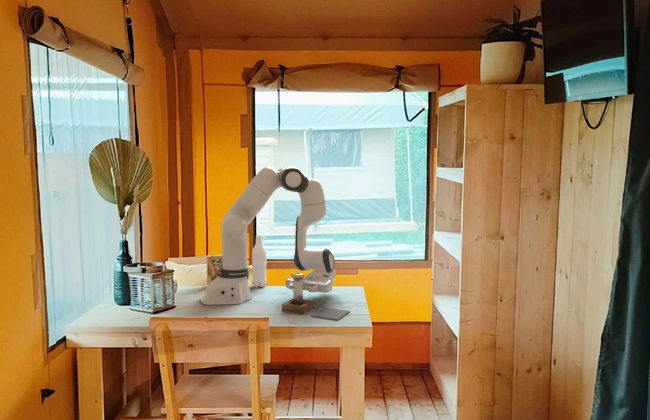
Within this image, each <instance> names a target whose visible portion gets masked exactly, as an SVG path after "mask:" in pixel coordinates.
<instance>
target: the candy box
mask: <svg viewBox="0 0 650 420" xmlns="http://www.w3.org/2000/svg"><path fill="white" fill-rule="evenodd" d="M222 267H223V262H222V254H212V255H211V254H209V255H206V286H207V285H208V284H209V283H211V282H212V281H213V280H215V279H216V278H217V277H218V273H217V272H216V269H217V268H220V269H221V268H222Z"/></svg>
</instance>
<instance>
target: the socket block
mask: <svg viewBox="0 0 650 420" xmlns="http://www.w3.org/2000/svg"><path fill="white" fill-rule="evenodd" d="M314 308H315V300H311V299H309V300H308V299H303V304H302V305H296V304H293V298H291V299H289V300H287V301H285V302H283V303H281V312H285V313H292V314H299V315H305V314H306V313H308V312H309V311H311V310H314Z"/></svg>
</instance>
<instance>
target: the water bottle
mask: <svg viewBox="0 0 650 420" xmlns="http://www.w3.org/2000/svg"><path fill="white" fill-rule="evenodd" d="M251 251H252V252H251V256H252V257H251V266H252V278H251V281H252V285H253V286H254V287H255V288H259V286H260V288H265V286H266V285H267V282H268V278H267V265H268V264H267V253H268V252H267V250H266V247H265V246H264V243H263V236H262V235H256V236H255V244H254V246H253V248H252V250H251Z"/></svg>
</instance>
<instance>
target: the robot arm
mask: <svg viewBox="0 0 650 420" xmlns="http://www.w3.org/2000/svg"><path fill="white" fill-rule="evenodd" d="M279 188H283V189H284V190H285V191H288V192H293V193H297V194H298V195H299V198H300V208H301V209H300V213H299V215H298V216H297V217H296V221H295V235H294V236H295V237H294V238H295V240H294V241H295V243H294V245H295V246H294V255H293V263H294V266H295V267H296V268H297V269H298V270H299V271H301V272H304V271H305V272H306V271H311V270H312V271H311V272H309V273H307V274H306V275H305V277H304V278H303V291H308V292H309V293H317V292H318V293H326V294H327V293H330V292H332V290H333V282H334V281H335V280H336V277H337V272H336V270H335V258H334V255H333V253H332V251H331V250H330V249H328V248H308V247H307V231H308V229H309V227H311V226H312V225H314V224H316V223H318V222H320V221H322V220H323V218H324V217H325V216H326V213H327V206H326V205H327V204H326V199H325V193H324V189H323V187H322V183H321V182H320V181H319V180H318V179H316V178H308V177H307V176H306V175H305V173H304V172H303V170H302V169H301V168H299V166H295V165H287V166H284V167H282V168H280V169H275V168H273V167H271V166H265V167H263V168H261V169H260V170H259V171H258V173H256V175H255V176H254V177H253V178H252V179H251V181H250V182H249V183H248V185H246V187H245V189H244V190H243V191H242V193H241V194H240V195H239V197H238V198H237V199H236V201H235V202H234V203H233V204H232V206H231V207H230V208H229V210H228V211H227V212H226V214H225V215H224V217H223V219H222V222H221V227H220V228H221V231H220V232H221V248H222V249H221V250H222V254H221V255H222V262H223V267H222V268H221V269H220V268H217V269H216V272H217V273H218V277H217V278H216V279H215V280H213V281H212V282H211V283H209V284H208V285H207V284H206V288H205V291H204V292H205V294H203V295H201V296H200V297H199V298H200V303H202V304H203V305H206V306H211V305H212V306H215V305H216V306H217V305H218V306H219V305H220V306H221V305H240V304H243V303H244V302H246V301H249V300H251V299H252V295H251V294H252V293H251V292H250V291H251V290H250V285H249V277H250V271H249V270H250V269H249V267H248V226H249V225H250V224H251V223H252V221H253V220H254V219H255V218H256V217H257V215H258V214H259V213H260V212H261V210H262V209H263V208H264V206H265V205H266V203H268V201H269V200H270V198H271V197H272V195H273V194H274V192H275V191H276V190H278V189H279ZM285 287H286V288H288V290H293V278H292V277H289V278H287V279H285Z"/></svg>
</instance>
